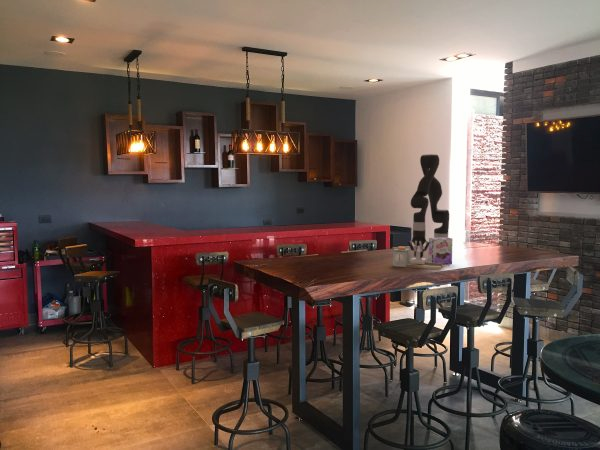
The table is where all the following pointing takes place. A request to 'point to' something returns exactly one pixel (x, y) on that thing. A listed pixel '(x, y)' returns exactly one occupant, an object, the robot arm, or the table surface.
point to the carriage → (418, 258)
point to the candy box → (440, 250)
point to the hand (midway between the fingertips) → (418, 257)
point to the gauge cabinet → (401, 257)
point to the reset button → (401, 248)
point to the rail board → (425, 265)
